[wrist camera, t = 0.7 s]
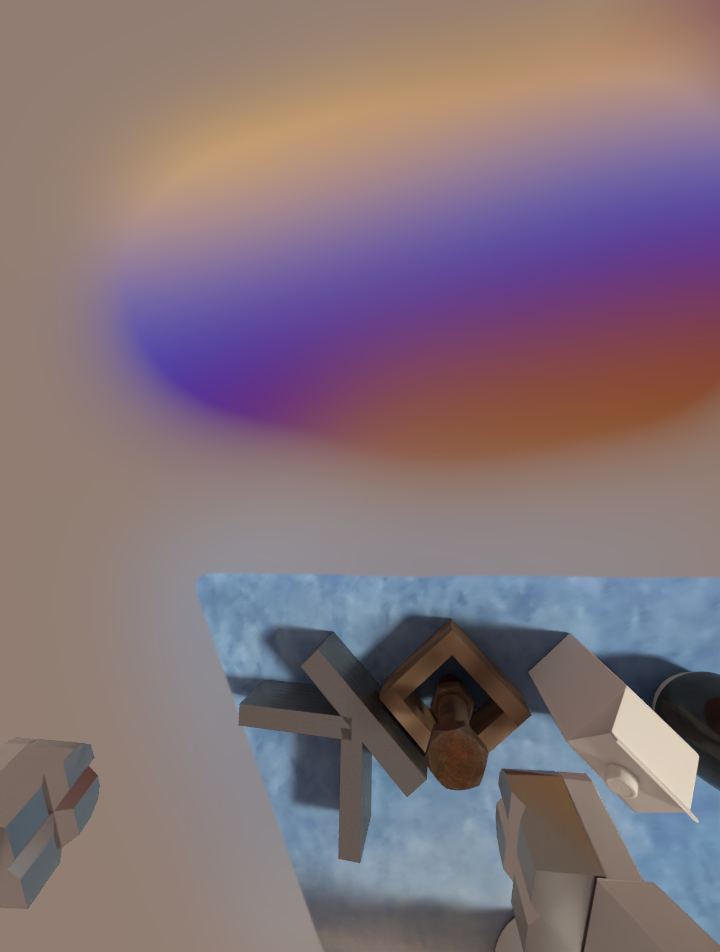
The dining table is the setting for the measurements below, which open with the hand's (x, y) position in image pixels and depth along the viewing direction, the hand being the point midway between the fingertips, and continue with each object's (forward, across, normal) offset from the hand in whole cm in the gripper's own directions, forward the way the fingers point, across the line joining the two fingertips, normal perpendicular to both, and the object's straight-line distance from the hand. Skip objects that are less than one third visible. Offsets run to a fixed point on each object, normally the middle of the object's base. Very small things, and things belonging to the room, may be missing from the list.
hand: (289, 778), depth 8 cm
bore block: (+37, +10, -30) cm, 49 cm away
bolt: (+37, +10, -30) cm, 49 cm away
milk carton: (+36, +24, -27) cm, 51 cm away
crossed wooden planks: (+37, -4, -36) cm, 52 cm away
